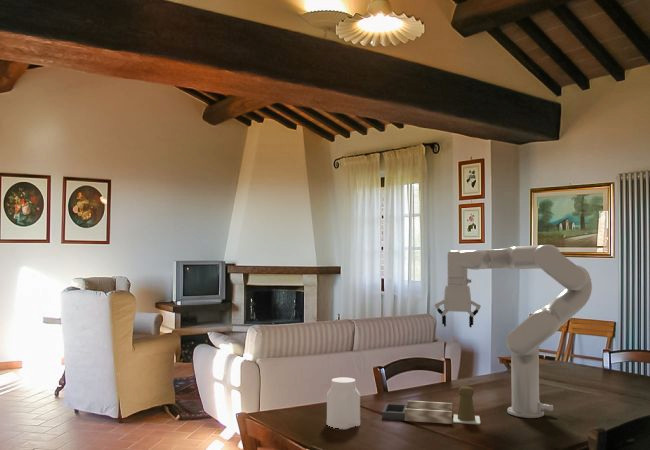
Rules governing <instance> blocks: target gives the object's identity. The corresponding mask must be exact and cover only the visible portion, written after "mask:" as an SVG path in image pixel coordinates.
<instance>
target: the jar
mask: <svg viewBox="0 0 650 450" xmlns="http://www.w3.org/2000/svg"><path fill="white" fill-rule="evenodd" d="M330 385H331V387H330V388H329V390H328V391H327V393H326V425H328V426H327V427H329V426H330V427H329V428H331V427H333V428H332V429H335V428H339V429H338V430H348V429H351V428H355V426H356V427H360V426H361V393H360V392H359V390H358V388H357V387H356V379H355V378H353V377H347V376H346V377H344V376H343V377H334V378H331V384H330Z"/></svg>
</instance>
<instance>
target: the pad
mask: <svg viewBox="0 0 650 450" xmlns="http://www.w3.org/2000/svg"><path fill="white" fill-rule="evenodd" d="M452 416H453V417H452V424H453V423H455V424H468V425H481V418H480V415H475V420H473V421H463V420H459V419H458V414H456V413H455V414H454V413H453V415H452Z"/></svg>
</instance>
